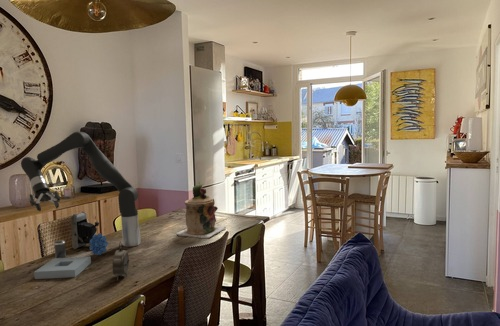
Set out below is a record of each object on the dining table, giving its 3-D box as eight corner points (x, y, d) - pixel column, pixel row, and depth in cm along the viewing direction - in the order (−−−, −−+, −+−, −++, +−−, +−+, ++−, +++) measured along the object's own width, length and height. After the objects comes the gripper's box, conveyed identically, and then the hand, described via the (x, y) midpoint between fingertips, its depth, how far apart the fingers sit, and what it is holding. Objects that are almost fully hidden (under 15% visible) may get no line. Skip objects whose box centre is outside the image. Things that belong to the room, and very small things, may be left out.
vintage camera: (95, 250, 205) (94, 215, 204) (71, 249, 208) (70, 214, 207) (105, 245, 215) (105, 212, 213) (82, 244, 218) (81, 211, 216)
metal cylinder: (68, 258, 192) (66, 239, 191) (63, 261, 187) (62, 242, 187) (58, 258, 192) (57, 240, 191) (53, 262, 187) (52, 243, 186)
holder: (90, 263, 183) (90, 256, 183) (75, 277, 165) (74, 269, 165) (54, 264, 183) (53, 258, 182) (34, 279, 165) (34, 271, 165)
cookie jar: (174, 236, 227) (171, 185, 225) (194, 226, 250) (192, 180, 247) (209, 239, 218) (207, 185, 215) (227, 228, 241) (225, 180, 238)
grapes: (113, 253, 198) (112, 231, 197) (105, 257, 191) (103, 235, 190) (96, 251, 201) (94, 230, 200) (87, 255, 195) (85, 233, 194)
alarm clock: (119, 272, 169) (117, 238, 167) (131, 272, 169) (129, 237, 168) (112, 282, 158) (110, 245, 156) (125, 281, 158) (123, 244, 157)
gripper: (26, 183, 195) (35, 206, 188) (54, 180, 206) (64, 202, 199) (24, 192, 199) (32, 215, 192) (52, 188, 210) (61, 210, 203)
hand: (48, 208), depth 196 cm, fingers open, 8 cm apart
